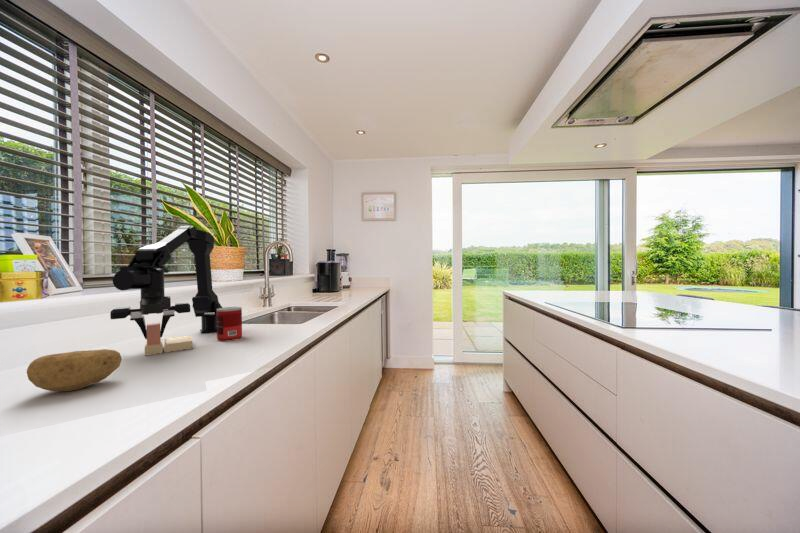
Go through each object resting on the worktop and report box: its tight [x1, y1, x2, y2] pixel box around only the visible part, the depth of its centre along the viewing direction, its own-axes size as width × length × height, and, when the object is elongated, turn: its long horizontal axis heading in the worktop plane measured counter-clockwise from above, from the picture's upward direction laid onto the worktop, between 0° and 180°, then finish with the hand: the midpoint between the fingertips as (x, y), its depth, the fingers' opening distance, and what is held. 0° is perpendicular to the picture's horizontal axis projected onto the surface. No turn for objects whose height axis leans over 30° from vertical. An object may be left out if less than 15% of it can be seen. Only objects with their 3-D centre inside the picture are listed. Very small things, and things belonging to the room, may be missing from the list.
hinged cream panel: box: [163, 335, 194, 353], centre depth 96 cm, size 10×7×3 cm
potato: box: [26, 348, 123, 392], centre depth 64 cm, size 10×14×8 cm
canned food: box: [216, 306, 243, 342], centre depth 107 cm, size 8×8×11 cm
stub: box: [144, 322, 163, 356], centre depth 93 cm, size 10×4×8 cm, turn 38°
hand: (153, 338), depth 93 cm, fingers closed on stub, 3 cm apart
